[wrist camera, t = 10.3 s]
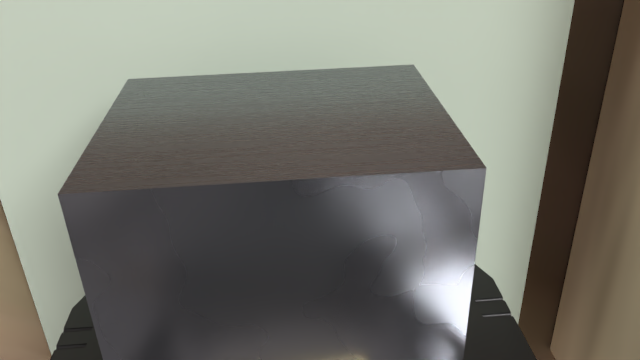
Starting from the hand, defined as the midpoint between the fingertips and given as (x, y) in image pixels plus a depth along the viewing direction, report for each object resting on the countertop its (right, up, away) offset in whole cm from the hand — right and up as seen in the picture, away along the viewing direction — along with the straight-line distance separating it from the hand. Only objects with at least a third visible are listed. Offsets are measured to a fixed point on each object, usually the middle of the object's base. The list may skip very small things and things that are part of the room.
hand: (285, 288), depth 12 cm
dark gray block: (0, 0, 0) cm, 0 cm away
